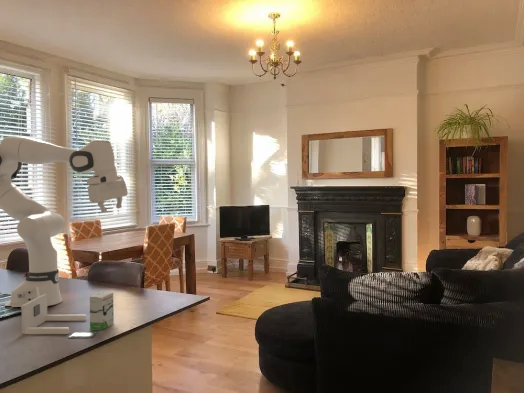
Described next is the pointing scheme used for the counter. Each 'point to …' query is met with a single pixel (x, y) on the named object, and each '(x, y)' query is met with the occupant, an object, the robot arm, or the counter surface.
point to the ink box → (101, 310)
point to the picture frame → (82, 335)
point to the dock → (43, 318)
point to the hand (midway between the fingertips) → (111, 210)
